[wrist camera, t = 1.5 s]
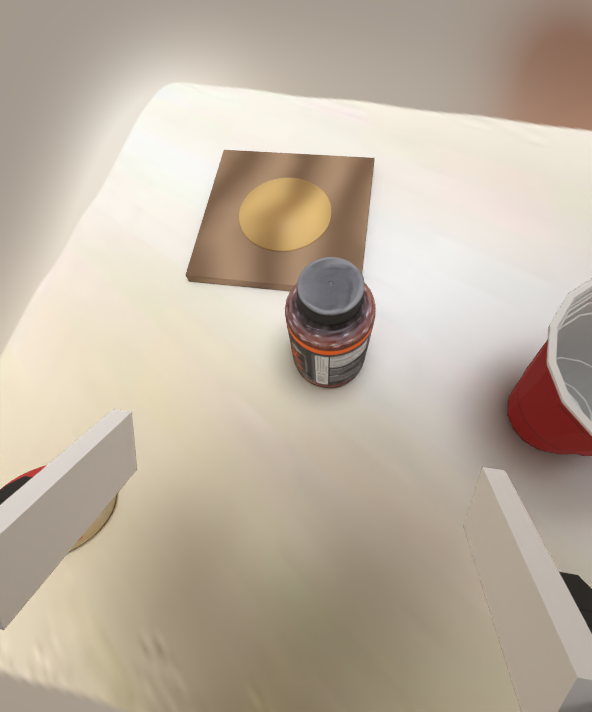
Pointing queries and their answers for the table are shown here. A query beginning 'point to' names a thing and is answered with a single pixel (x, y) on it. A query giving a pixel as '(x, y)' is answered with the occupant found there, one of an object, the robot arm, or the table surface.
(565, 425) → the plastic cup
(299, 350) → the supplement bottle
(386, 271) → the table surface
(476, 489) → the robot arm
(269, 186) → the walnut board
